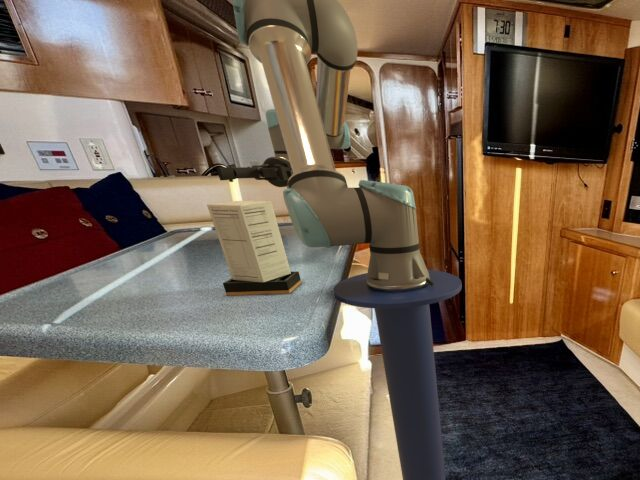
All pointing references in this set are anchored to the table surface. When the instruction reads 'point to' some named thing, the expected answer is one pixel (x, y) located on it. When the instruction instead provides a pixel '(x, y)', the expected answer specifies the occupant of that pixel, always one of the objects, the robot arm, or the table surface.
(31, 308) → the table surface
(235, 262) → the supplement box
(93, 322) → the table surface
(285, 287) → the dish rack
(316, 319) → the table surface
